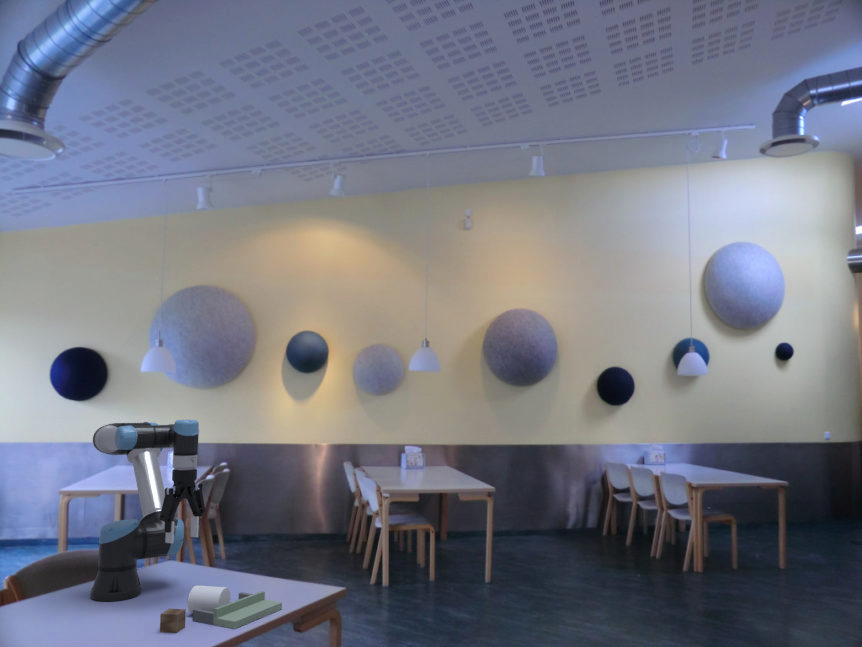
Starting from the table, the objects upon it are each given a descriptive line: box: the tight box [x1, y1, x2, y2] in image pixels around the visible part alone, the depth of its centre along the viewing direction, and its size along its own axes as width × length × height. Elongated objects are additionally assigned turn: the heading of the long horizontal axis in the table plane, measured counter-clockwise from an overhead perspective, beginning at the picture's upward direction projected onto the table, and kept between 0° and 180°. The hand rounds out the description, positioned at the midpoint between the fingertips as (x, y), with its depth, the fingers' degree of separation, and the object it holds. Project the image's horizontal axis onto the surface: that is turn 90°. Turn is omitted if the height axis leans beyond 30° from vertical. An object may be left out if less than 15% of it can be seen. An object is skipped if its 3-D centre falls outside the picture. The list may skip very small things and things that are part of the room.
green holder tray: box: [192, 590, 283, 630], centre depth 217 cm, size 16×21×4 cm
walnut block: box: [159, 608, 187, 634], centre depth 203 cm, size 5×5×5 cm
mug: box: [187, 585, 231, 615], centre depth 220 cm, size 12×10×8 cm
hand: (182, 539), depth 229 cm, fingers open, 10 cm apart
